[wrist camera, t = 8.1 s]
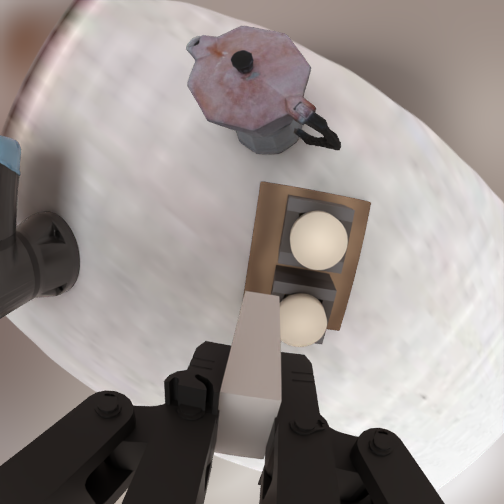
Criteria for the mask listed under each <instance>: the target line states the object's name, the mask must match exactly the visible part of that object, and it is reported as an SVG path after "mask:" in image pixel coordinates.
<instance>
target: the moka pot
mask: <svg viewBox="0 0 504 504" xmlns="http://www.w3.org/2000/svg"><path fill="white" fill-rule="evenodd" d="M186 50H187V51H188V52H189V53H190V54H191V55H192V56H193V58H194V59H195V64H194V67H193V69H192V71H191V74H190V77H189V80H188V83H187V84H188V88H189V89H190V91H191V93H192V94H193V96H194V98H195V100H196V101H197V103H198V105H199V106H200V108H201V110H202V112H203V114H204V115H205V117H206V119H207V121H209V122H212V123H215V124H218V125H221V126H224V127H227V128H229V129H232V130H236V133H237V136H238V138H239V141H240V142H241V143H242V144H243V145H245V146H246V147H248V148H249V149H251V150H252V151H253V152H255V153H258V154H278V153H281V152H282V151H284V150H285V149H287V148H289V147H290V146H292V145H293V144H295V143H296V142H297V140H298V138H299V137H300V138H301V139H302V140H304V142H305V143H306V144H309V145H315V146H321V147H326V148H329V149H334V150H340V148H341V142H340V141H339V138H338V136H337V134H336V133H335V132H333V131H332V130H330V129H329V127H328V125H327V122H326V120H325V119H323V118H322V117H321V116H319V115H318V114H316V113H315V111H316V108H315V106H314V105H312V104H311V103H310V102H309V101H307V100H306V99H305V98H304V92H305V89H306V86H307V82H308V79H309V75H310V71H311V67H310V65H309V64H308V62H307V61H306V59H305V58H304V57H303V55H302V54H301V53H300V51H299V50H298V49H297V47H296V46H295V45H294V43H293V42H292V41H291V39H290V38H289V37H288V35H286V34H284V33H280V32H275V31H270V30H264V29H259V28H254V27H248V26H240V27H238V28H235V29H233V30H231V31H229V32H227V33H225V34H223V35H221V36H219V37H214V36H206V35H203V36H197V37H194V38H193V39H192V40H191V41H190V42H189V43H188V44H187V47H186ZM304 124H306V125H308V126H310V127H311V128H313V129H315V130H316V131H318V132H319V133H321V134H322V135H323V136H324V137H323V138H322V137H320V138H316V137H314V136H311V135H309V134H307V133H306V132H304V131H303V130H301V129H302V125H304Z"/></svg>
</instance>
